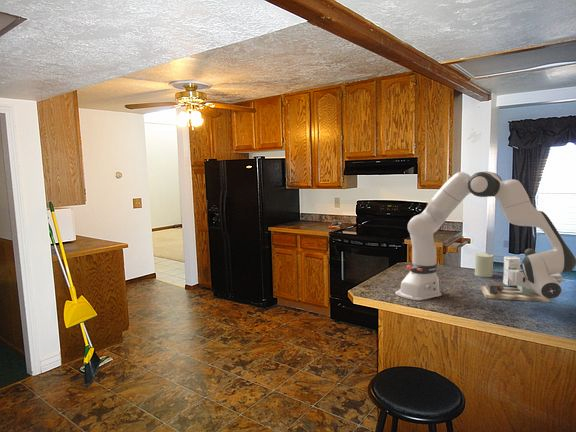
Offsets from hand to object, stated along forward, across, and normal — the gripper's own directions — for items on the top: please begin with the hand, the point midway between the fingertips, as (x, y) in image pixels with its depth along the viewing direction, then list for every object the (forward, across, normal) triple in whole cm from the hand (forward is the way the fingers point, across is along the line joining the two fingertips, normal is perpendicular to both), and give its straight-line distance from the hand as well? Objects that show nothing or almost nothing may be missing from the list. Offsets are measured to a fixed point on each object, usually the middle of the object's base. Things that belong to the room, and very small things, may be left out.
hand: (529, 271), depth 182 cm
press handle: (0, 0, +9) cm, 9 cm away
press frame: (0, +6, +12) cm, 13 cm away
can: (+35, +13, +12) cm, 39 cm away
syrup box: (+18, +3, +12) cm, 22 cm away
